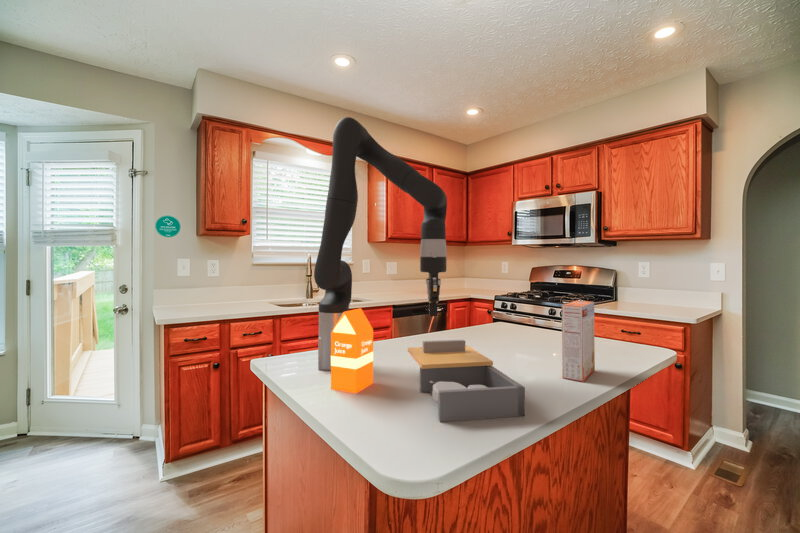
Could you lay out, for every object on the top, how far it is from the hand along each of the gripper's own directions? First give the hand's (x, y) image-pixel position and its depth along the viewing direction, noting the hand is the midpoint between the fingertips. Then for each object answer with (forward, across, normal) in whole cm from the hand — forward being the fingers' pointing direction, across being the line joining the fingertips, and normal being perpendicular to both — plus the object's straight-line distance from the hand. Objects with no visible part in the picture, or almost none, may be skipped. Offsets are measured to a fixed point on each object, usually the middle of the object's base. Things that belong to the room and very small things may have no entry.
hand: (433, 315), depth 106 cm
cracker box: (+17, -1, +42) cm, 46 cm away
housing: (+17, +21, +6) cm, 27 cm away
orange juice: (+17, +9, -22) cm, 30 cm away
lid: (+11, +5, +3) cm, 12 cm away
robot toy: (+18, +22, +5) cm, 29 cm away
